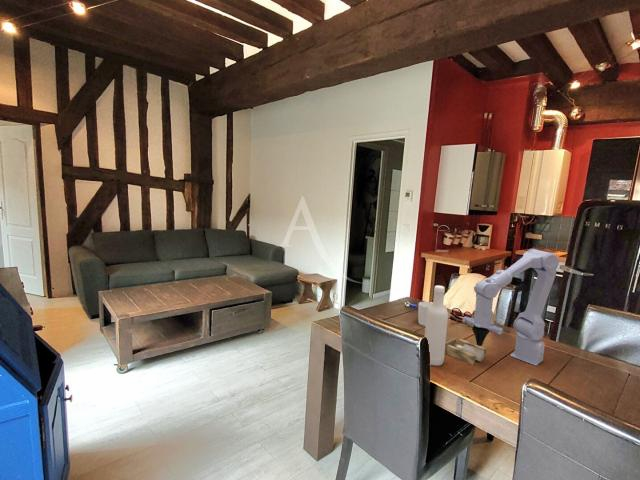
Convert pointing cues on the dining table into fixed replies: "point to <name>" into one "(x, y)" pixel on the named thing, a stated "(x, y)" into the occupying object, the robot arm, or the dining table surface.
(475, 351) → the bottle
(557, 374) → the dining table surface
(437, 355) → the bottle
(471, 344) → the u rest
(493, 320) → the ceramic model
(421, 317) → the white cup
